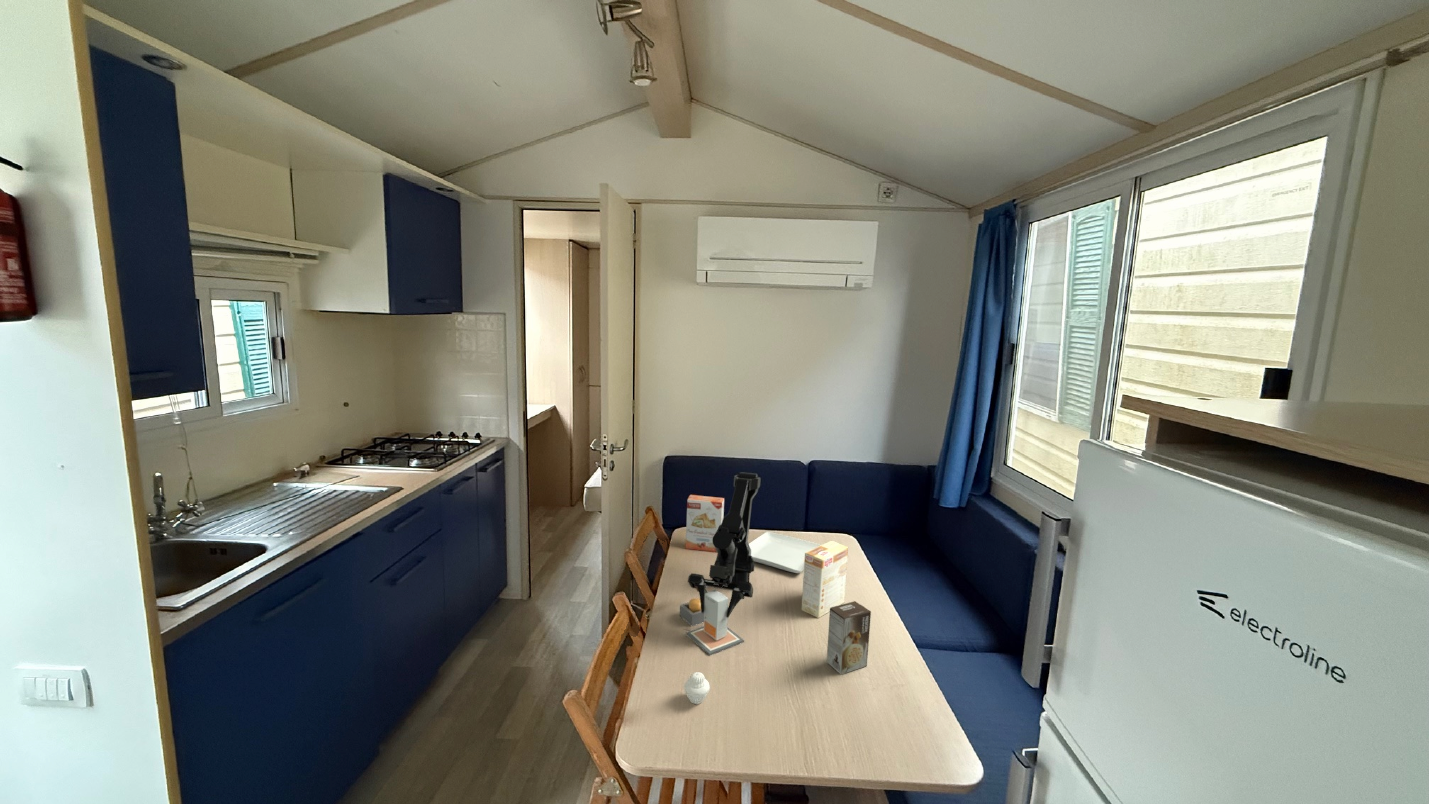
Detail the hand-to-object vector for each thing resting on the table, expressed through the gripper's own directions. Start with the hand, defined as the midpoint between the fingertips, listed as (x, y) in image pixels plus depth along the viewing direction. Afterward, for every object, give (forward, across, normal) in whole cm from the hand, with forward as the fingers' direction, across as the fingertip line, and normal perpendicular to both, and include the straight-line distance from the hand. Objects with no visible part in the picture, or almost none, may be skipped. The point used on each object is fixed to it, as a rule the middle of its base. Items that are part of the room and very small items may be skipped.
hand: (714, 615), depth 158 cm
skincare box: (+4, 0, +6) cm, 7 cm away
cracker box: (-36, -20, +49) cm, 64 cm away
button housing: (-1, -8, +13) cm, 15 cm away
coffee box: (+5, +37, +6) cm, 38 cm away
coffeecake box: (-15, +29, +27) cm, 42 cm away
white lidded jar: (+23, +2, -12) cm, 27 cm away
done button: (-3, -9, +11) cm, 14 cm away
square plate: (-38, +11, +51) cm, 64 cm away
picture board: (+5, 0, +6) cm, 8 cm away
